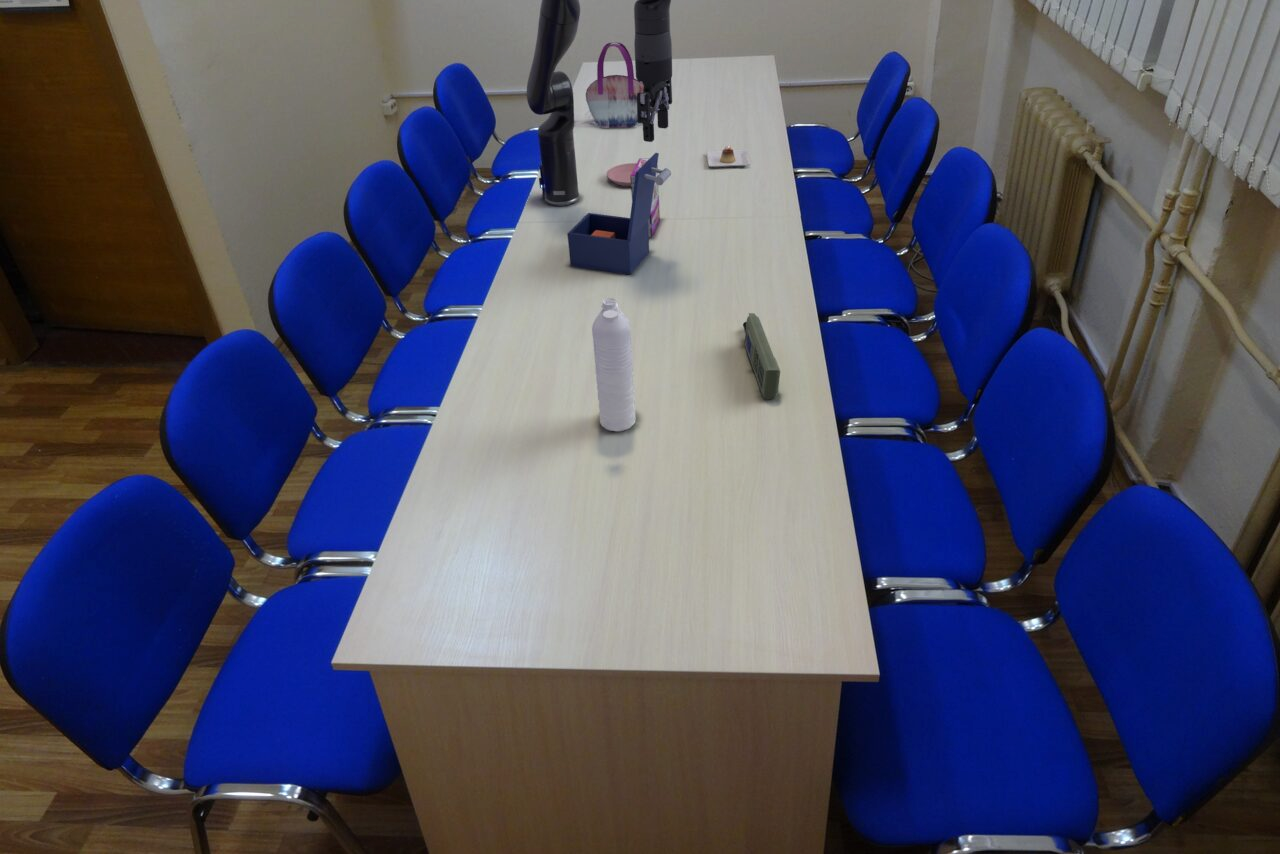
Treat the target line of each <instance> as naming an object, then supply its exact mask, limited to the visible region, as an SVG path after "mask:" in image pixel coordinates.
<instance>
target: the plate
mask: <svg viewBox="0 0 1280 854" xmlns="http://www.w3.org/2000/svg"><path fill="white" fill-rule="evenodd" d="M636 164H637V162H635V163H634V162H633V163H631V162H629V163H622V164H619V165H616V166H613V167H610V169H608V170H607V171H606V177H607V178H608V179H609V180H610V181H612V182H613V183H614V184H615V185H618V186H621V187H631V178H630V175H631V173H632V172H633V170H634V168H635V166H636Z"/></svg>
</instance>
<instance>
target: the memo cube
mask: <svg viewBox="0 0 1280 854" xmlns="http://www.w3.org/2000/svg"><path fill="white" fill-rule="evenodd" d="M591 235H593V236H600V237H607V238H614V239H615V233H614V232H607V231H599V230H595V231H594V232H593V233H592V234H591Z"/></svg>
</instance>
